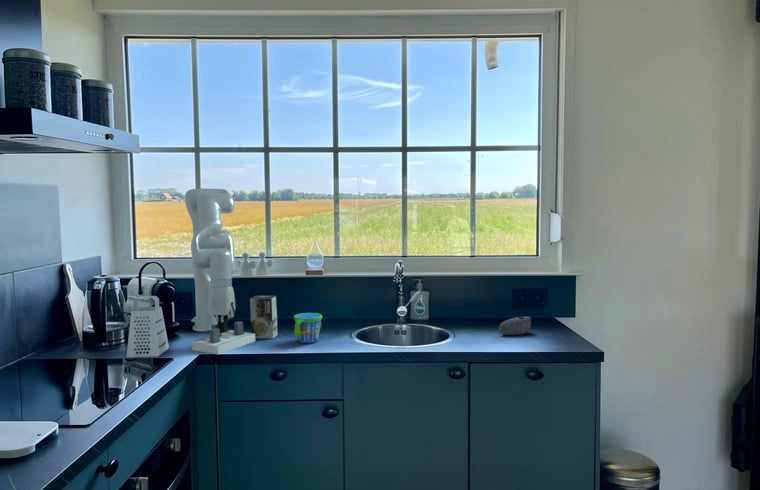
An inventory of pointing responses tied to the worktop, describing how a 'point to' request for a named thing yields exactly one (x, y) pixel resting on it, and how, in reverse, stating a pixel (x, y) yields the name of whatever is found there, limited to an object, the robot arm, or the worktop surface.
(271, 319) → the coffee box
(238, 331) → the gray rectangular block
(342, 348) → the worktop surface
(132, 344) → the grater
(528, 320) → the perforated stone tool
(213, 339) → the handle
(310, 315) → the snack cup
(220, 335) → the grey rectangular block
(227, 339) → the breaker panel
